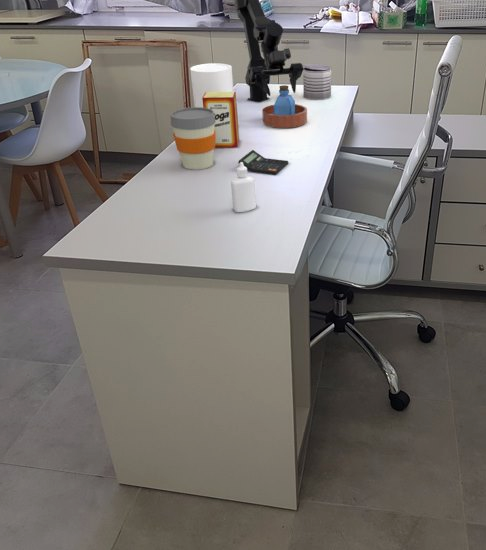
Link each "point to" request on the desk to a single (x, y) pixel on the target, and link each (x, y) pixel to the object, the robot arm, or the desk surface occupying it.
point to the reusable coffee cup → (194, 136)
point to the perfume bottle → (284, 102)
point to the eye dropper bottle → (243, 191)
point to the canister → (210, 80)
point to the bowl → (284, 117)
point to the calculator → (262, 163)
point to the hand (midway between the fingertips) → (282, 93)
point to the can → (317, 82)
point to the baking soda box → (223, 117)
